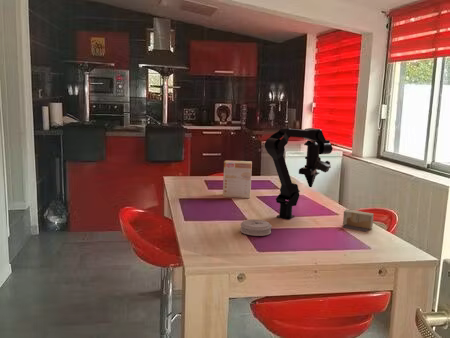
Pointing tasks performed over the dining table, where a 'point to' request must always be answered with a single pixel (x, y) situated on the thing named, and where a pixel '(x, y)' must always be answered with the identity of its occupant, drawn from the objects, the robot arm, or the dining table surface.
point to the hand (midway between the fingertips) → (310, 187)
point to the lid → (255, 227)
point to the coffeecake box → (237, 179)
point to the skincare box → (358, 218)
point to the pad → (356, 228)
